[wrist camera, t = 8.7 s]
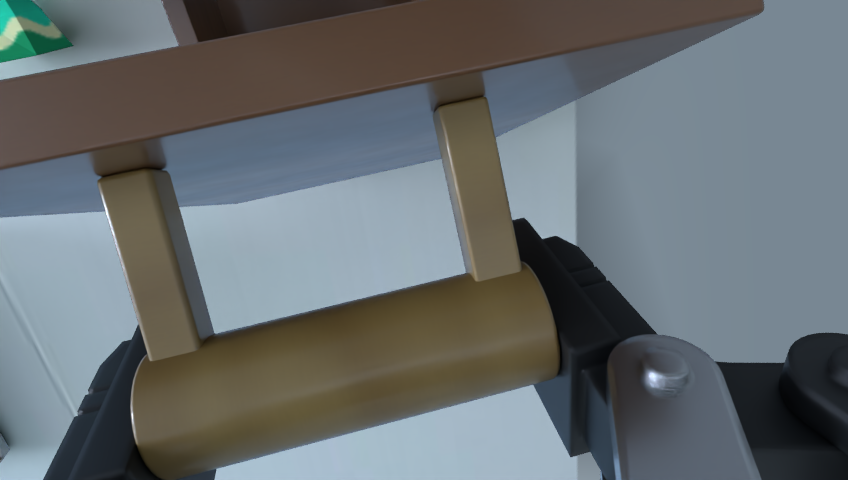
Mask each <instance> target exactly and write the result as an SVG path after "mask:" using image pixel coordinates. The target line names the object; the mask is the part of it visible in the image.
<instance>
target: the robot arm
mask: <svg viewBox="0 0 848 480" xmlns="http://www.w3.org/2000/svg"><path fill="white" fill-rule="evenodd" d="M512 222H513V227H514V232H515V237H516V242H517V247H518V252H519V257H520V261H522V262H525V263H526V264H527V265H529V266H530V268H531V269H532V270H533V272H534V273H535V275H536V276H537V278H538V280H539V282H540V284H541V285H542V287H543V290H544V292H545V294H546V297H547V299H548V302H549V305H550V308H551V311H552V314H553V317H554V321H555V325H556V329H557V334H558V340H559V347H560V369H559V373H558V375H557V376H556V377H555V378H554V379H552V380H548V381H545V382H541V383H537V384H533V385H534V387H535V389H536V391H537V393H538V395H539V397H540V399H541V401H542V403H543V405H544V407H545V408H546V410H547V412H548V414H549V416H550V418H551V420H552V422H553V424H554V426H555V428H556V430H557V432H558V434H559V436H560V438H561V440H562V442H563V444H564V445H565V447H566V449H567V451H568V453H569V455H570V457H573V456H577V455H580V454H584V453H587V452H591V453H592V456H593V457H594V459H595V461H596V463H597V465H598V466H599V468H600V470H601V473H600V480H848V335H847V334H839V333H816V334H811V335H807V336H805V337H802V338H800V339H799V340H797V341H795V342H794V343H793V345H792V346H791V347H790V349H789V352H788V355H787V357H786V360H785V363H727V362H716V361H714V360H713V359H712V358H711V357H710V356H709V355H708V354H707V353H706V352H704V351H703V350H701V349H700V348H698V347H696V346H695V345H693V344H691V343H689V342H687V341H684V340H681V339H678V338H675V337H671V336H666V335H658V334H657V333H656V332H655V331H654V330H653V329H652V328H651V327H650V326H649V324H647V322H646V321H645V320H644V319H643V318H642V317H641V316H640V314H639V313H638V312H637V311H636V310H635V309H634V308H633V307H632V306H631V305H630V304H629V302H628V301H627V300H626V299H625V298H624V297H623V296H622V295H621V293H620V292H619V291H618V290H617V289H616V288H615V287H614V286H613V285H612V283H611V282H610V281H607V280H606V277H605V276H604V275H603V274H602V273H601V271H600V270H598V268H597V267H594V265H593V262H591V260H590V259H589V258H588V257H587V256H586V255H585V254H584V252H583V251H582V250H581V249H580V248H579V247H577V246H575V245H573V244H571V243H569V242H567V241H565V240H563V239H561V238H559V237H557V236H553V237H549V238H545V239H542V238H541V237H540V236H539V235H538V233H537V232H536V231H535V230H534V228H533V227H532V226H531V225H530V224H529V222H528V221H527V220H526V219H525V218H520V219H516V220H512ZM147 354H148V353H147V350H146V347H145V343H144V340H143V337H142V333H141V330H140V326H139V324H138V326H137V329H136V331H135V333H134V335H133V337H132V340H128V341H124V342H122V343H121V344H120V345H119V346H118V347H117V348H116V349H115V351H114V352H113V353H112V354H111V355H110V356H109V357H108V358H107V359H106V360H105V361H104V362H103V363H102V364H101V365H100V367H99V369H98V371H97V373H96V375H95V377H94V379H93V381H92V383H91V385H90V387H89V389H88V391H89V395H85V397H84V399H83V401H82V403H81V405H80V407H79V409H78V416H76V417H74V419H73V421H72V423H71V425H70V427H69V429H68V431H67V433H66V435H65V437H64V439H63V441H62V443H61V445H60V447H59V449H58V451H57V453H56V455H55V457H54V459H53V461H52V463H51V465H50V467H49V469H48V471H47V473H46V475H45V477H44V479H43V480H164V479H161V478H158V477H157V476H155V475H154V474H153V473H152V472H151V471H150V470H149V469H148V467H147V466H146V465H145V463H144V461H143V460H142V457H141V455H140V453H139V451H138V448H137V445H136V442H135V438H134V434H133V428H132V421H131V407H130V405H131V390H132V384H133V379H134V376H135V372H136V370H137V367H138V365H139V363H140V362H141V360H142V359H143V358H144V356H145V355H147ZM215 473H216V469H214V470H210V471H206V472H202V473H199V474H195V475H191V476H187V477H184V478H180V479H176V480H214V479H215Z"/></svg>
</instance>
